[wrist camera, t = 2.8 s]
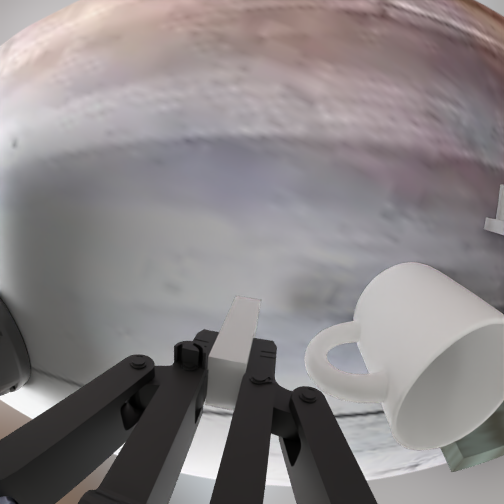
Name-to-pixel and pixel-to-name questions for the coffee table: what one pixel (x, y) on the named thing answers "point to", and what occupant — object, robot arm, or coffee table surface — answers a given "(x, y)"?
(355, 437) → the coffee table surface
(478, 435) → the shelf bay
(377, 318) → the mug
